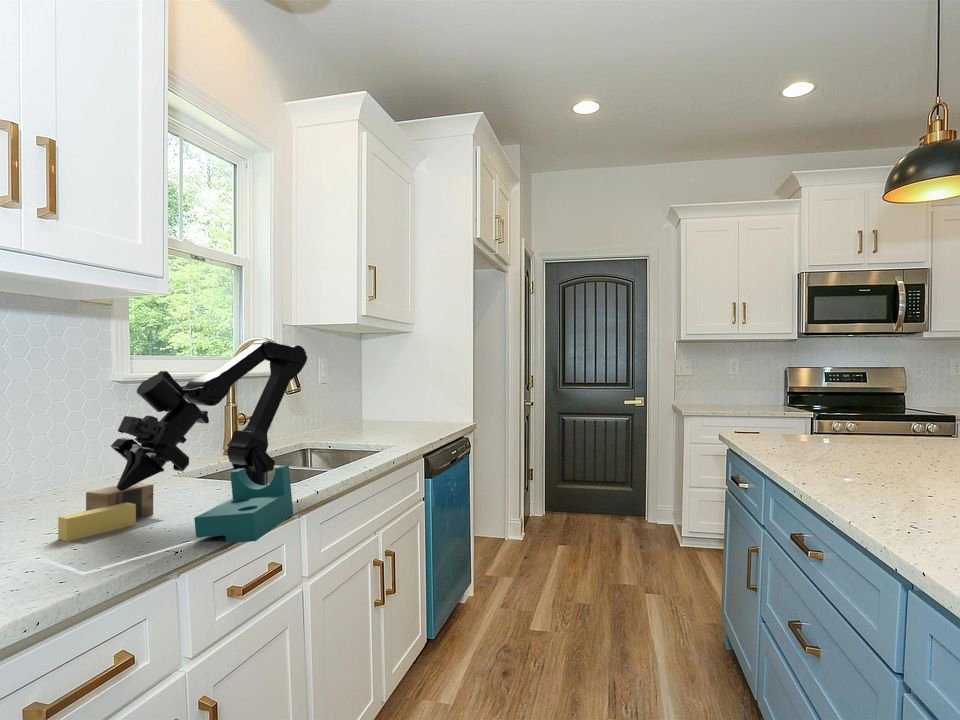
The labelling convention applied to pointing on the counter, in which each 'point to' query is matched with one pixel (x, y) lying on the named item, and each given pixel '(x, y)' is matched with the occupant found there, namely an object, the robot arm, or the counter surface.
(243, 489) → the teal l-shaped bracket
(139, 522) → the mat
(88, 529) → the yellow block
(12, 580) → the counter surface
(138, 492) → the brown box
